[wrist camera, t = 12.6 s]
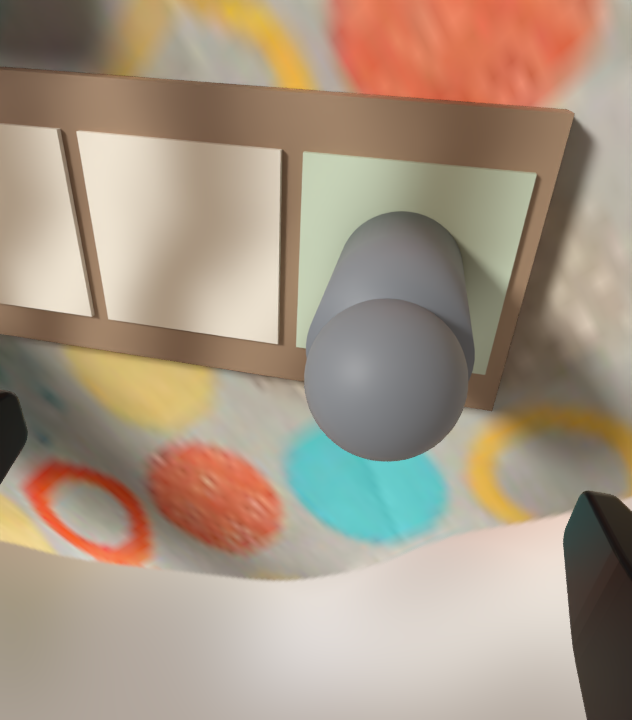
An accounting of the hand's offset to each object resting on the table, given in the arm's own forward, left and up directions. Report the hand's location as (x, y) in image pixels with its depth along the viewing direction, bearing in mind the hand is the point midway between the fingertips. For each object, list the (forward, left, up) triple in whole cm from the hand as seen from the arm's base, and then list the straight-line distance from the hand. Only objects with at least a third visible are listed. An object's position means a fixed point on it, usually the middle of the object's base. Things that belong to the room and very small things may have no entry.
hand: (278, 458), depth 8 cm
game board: (-6, -1, -12) cm, 13 cm away
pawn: (+1, -1, -11) cm, 11 cm away
